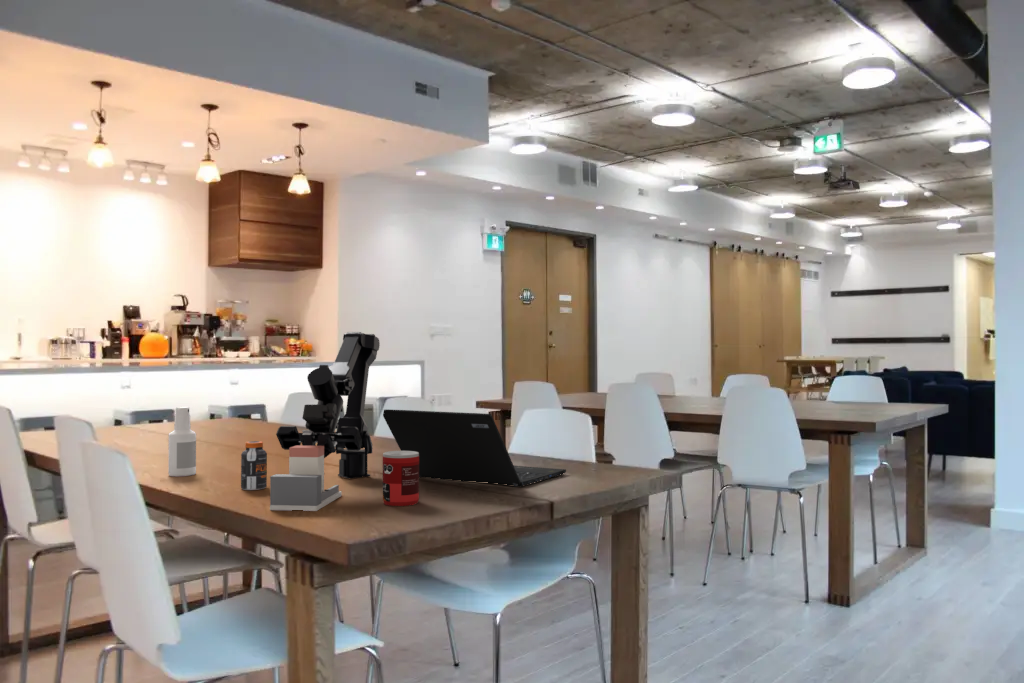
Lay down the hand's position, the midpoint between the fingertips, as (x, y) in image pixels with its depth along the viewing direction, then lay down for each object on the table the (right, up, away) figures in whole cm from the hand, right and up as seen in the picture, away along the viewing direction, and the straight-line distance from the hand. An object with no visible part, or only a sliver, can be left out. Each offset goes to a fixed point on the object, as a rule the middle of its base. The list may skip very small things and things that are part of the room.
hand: (310, 467), depth 176 cm
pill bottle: (-18, -8, +16) cm, 25 cm away
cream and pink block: (0, -6, -2) cm, 6 cm away
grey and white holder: (0, -7, -1) cm, 7 cm away
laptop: (+36, -8, +29) cm, 47 cm away
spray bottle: (-43, -8, +36) cm, 57 cm away
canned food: (+20, -8, -2) cm, 22 cm away
